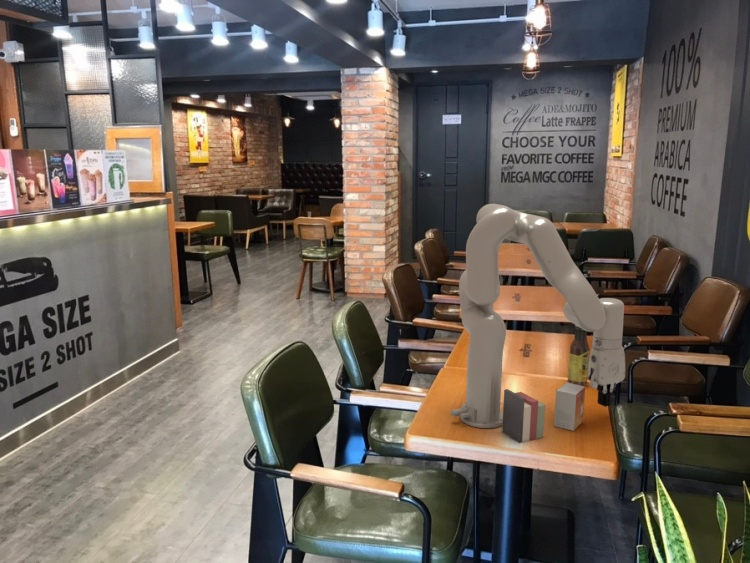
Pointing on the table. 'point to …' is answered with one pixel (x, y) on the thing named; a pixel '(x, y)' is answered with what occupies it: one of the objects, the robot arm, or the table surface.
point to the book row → (522, 417)
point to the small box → (569, 406)
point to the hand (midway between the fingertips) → (603, 404)
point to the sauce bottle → (579, 358)
